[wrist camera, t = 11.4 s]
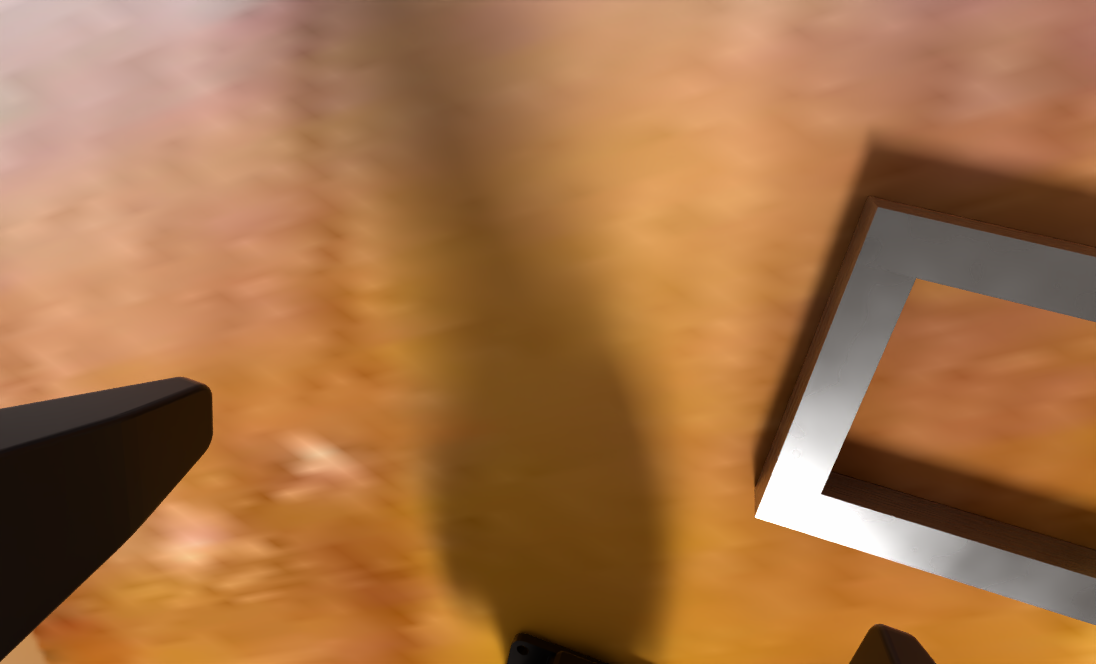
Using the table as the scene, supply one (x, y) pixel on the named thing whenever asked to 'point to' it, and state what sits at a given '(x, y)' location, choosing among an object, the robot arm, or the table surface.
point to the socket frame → (846, 371)
